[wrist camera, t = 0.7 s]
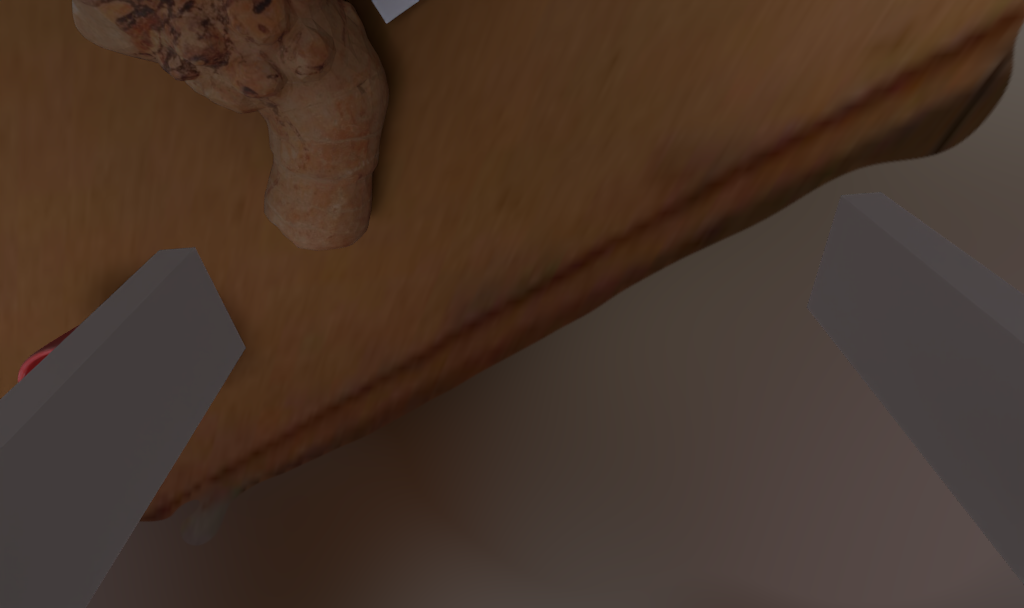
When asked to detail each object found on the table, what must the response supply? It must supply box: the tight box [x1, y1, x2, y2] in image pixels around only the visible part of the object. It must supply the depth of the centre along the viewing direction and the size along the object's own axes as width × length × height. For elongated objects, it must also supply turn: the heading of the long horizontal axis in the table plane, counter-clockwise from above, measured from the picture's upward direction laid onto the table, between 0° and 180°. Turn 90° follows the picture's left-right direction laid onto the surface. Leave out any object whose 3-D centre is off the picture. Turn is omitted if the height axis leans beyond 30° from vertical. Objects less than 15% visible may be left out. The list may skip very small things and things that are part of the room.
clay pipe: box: [72, 0, 389, 251], centre depth 29 cm, size 19×11×15 cm
